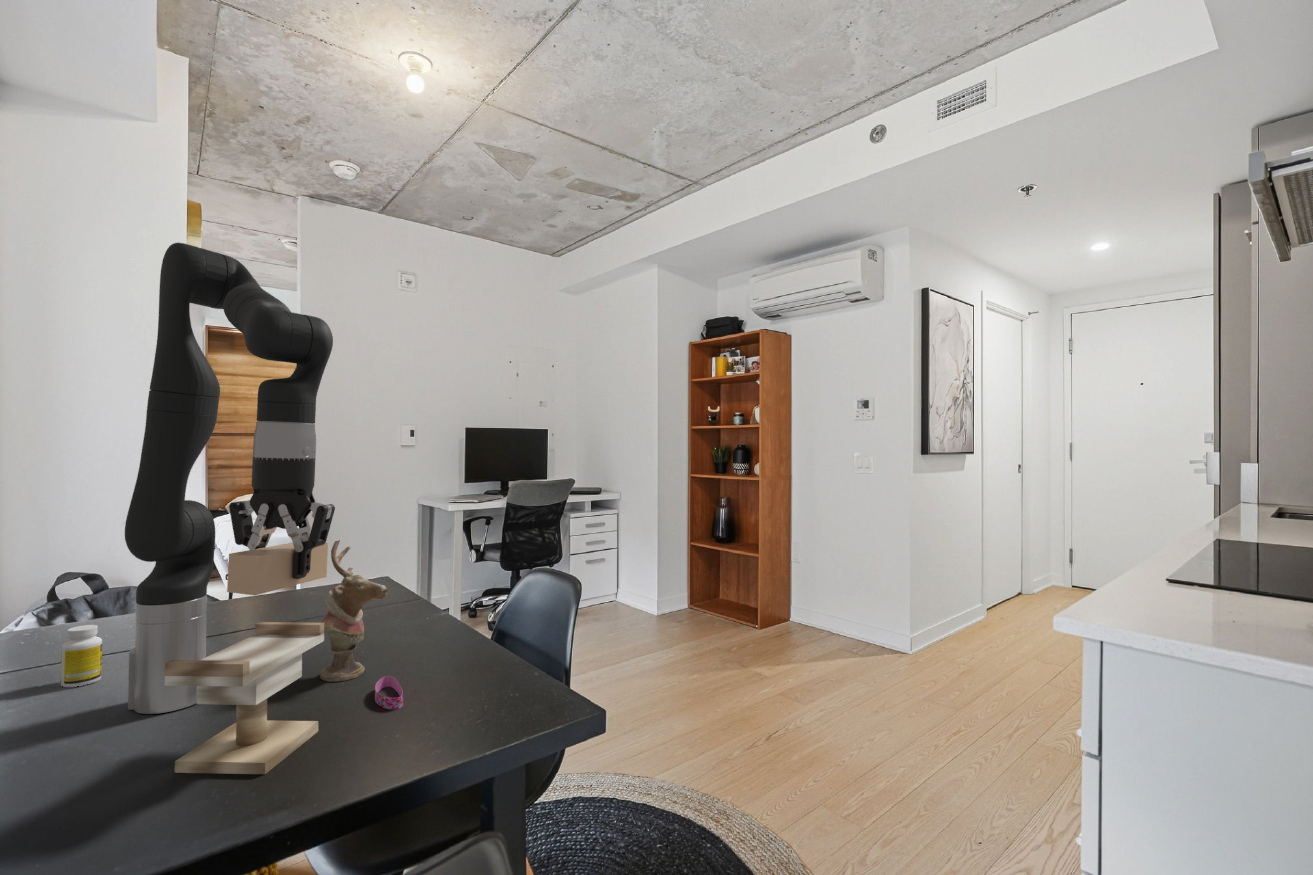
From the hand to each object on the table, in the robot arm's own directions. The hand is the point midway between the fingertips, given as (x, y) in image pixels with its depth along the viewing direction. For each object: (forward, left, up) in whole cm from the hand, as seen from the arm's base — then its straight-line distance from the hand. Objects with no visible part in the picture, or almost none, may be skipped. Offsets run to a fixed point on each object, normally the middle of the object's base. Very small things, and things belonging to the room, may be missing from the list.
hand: (279, 576), depth 85 cm
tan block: (0, 0, -1) cm, 1 cm away
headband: (+7, +19, -25) cm, 32 cm away
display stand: (-4, +1, -25) cm, 25 cm away
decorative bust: (-5, +29, -25) cm, 38 cm away
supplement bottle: (-51, +24, -25) cm, 62 cm away
